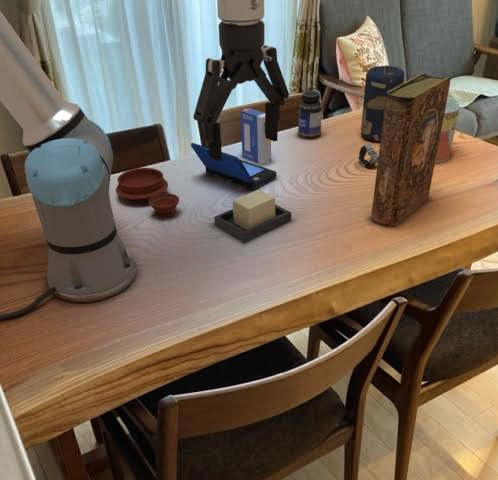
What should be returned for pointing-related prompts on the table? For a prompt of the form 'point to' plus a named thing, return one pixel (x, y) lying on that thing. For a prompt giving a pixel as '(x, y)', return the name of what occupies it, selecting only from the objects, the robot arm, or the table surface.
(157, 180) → the pottery
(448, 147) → the canned food
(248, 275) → the table surface
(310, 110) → the pill bottle
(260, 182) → the game console
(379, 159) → the book
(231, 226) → the dark grey tray
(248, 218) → the beige rectangular block
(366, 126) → the canister
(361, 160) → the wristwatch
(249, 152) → the walkman
